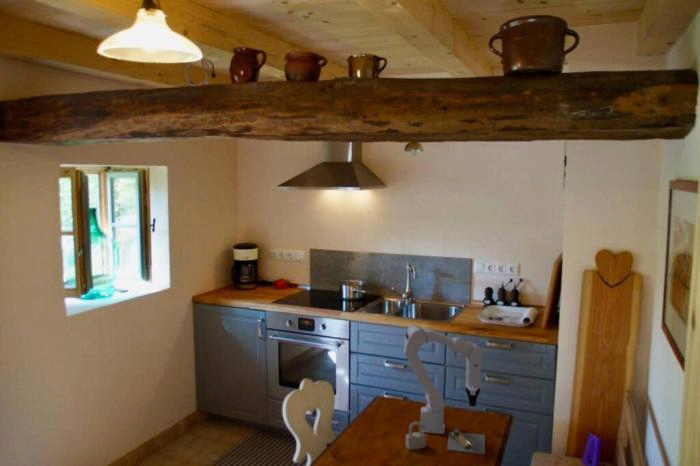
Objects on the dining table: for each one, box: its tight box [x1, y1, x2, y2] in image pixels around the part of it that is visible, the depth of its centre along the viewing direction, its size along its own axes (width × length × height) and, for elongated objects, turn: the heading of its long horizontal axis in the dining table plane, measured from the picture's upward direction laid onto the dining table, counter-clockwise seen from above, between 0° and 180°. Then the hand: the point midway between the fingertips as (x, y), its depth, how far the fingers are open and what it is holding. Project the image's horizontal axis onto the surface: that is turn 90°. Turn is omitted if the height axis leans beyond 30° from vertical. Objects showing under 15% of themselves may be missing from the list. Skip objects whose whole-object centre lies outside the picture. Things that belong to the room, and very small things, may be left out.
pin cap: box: [453, 428, 460, 434], centre depth 225 cm, size 2×2×1 cm
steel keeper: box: [466, 439, 476, 450], centre depth 216 cm, size 4×2×2 cm, turn 22°
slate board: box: [446, 431, 486, 455], centre depth 221 cm, size 14×16×1 cm
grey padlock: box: [405, 421, 426, 451], centre depth 218 cm, size 7×4×10 cm, turn 109°
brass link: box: [451, 431, 470, 448], centre depth 222 cm, size 12×4×1 cm, turn 16°
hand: (472, 405), depth 234 cm, fingers closed
